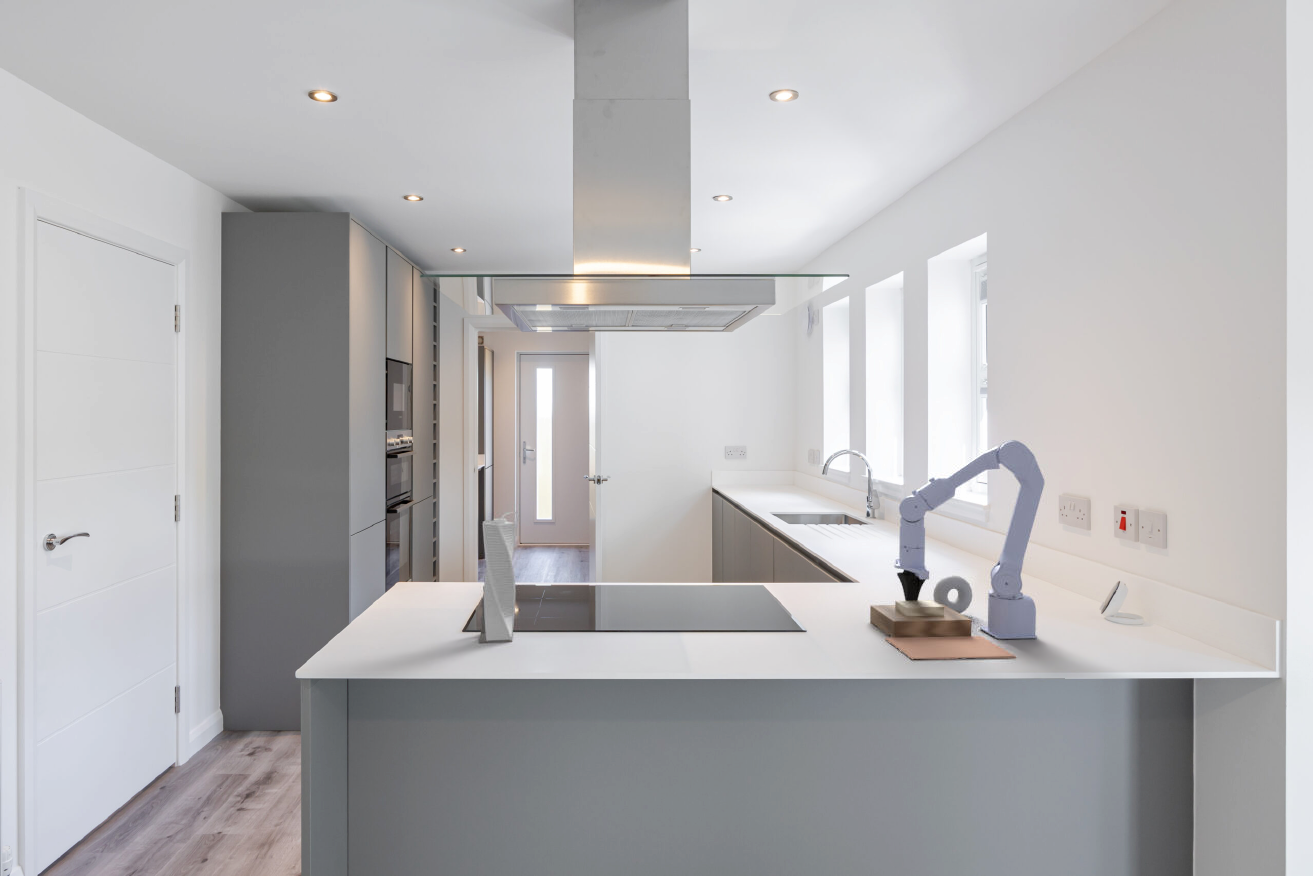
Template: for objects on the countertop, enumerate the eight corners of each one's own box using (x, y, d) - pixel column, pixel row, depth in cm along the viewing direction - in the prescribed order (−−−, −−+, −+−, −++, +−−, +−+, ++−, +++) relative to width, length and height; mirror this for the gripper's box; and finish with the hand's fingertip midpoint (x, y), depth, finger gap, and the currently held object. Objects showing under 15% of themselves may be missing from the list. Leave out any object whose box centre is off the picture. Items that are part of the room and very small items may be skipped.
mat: (980, 637, 168) (980, 636, 168) (1015, 657, 154) (1015, 656, 154) (885, 639, 166) (885, 637, 166) (911, 660, 152) (911, 658, 152)
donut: (937, 617, 185) (938, 577, 185) (930, 614, 189) (930, 574, 188) (974, 616, 187) (975, 576, 186) (967, 612, 190) (967, 573, 190)
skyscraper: (519, 632, 170) (519, 509, 170) (518, 643, 162) (518, 513, 162) (480, 633, 169) (480, 509, 168) (478, 644, 161) (478, 514, 160)
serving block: (942, 620, 182) (942, 604, 182) (971, 637, 168) (971, 619, 168) (870, 621, 181) (870, 605, 181) (893, 639, 167) (893, 621, 167)
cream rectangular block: (932, 608, 178) (932, 600, 178) (943, 615, 172) (944, 606, 172) (895, 609, 177) (895, 600, 177) (905, 616, 171) (905, 607, 171)
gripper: (884, 541, 185) (883, 596, 186) (908, 552, 171) (907, 611, 171) (911, 541, 186) (910, 595, 186) (938, 551, 172) (937, 610, 172)
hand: (911, 603), depth 179 cm, fingers closed
